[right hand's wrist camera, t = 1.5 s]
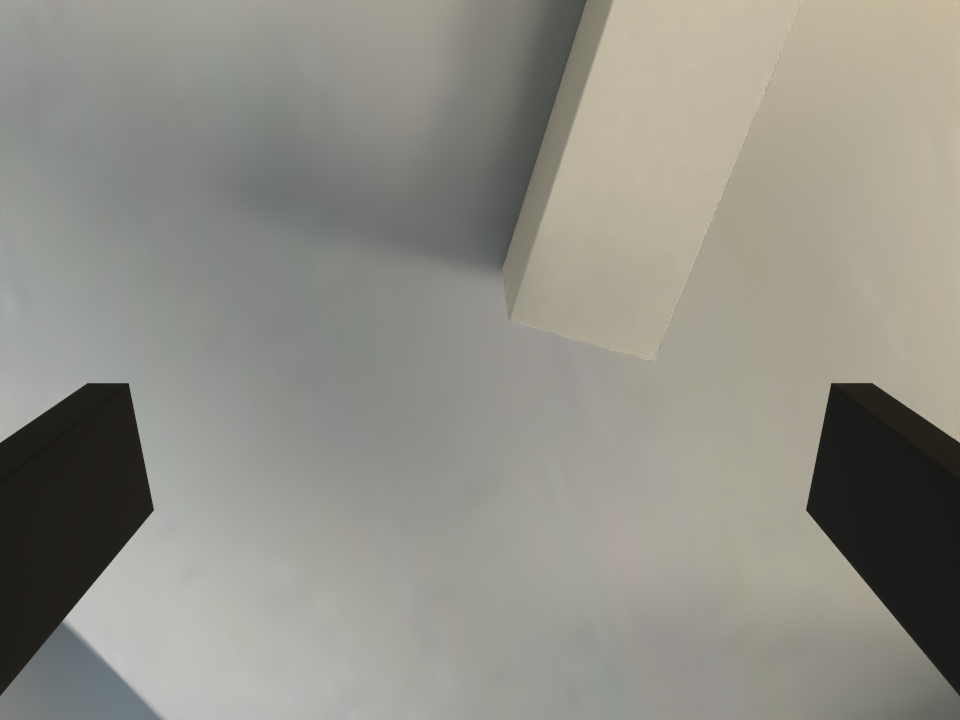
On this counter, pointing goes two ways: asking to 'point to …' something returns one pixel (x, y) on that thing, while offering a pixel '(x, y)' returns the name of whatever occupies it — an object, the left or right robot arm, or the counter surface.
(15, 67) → the counter surface
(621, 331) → the beam
